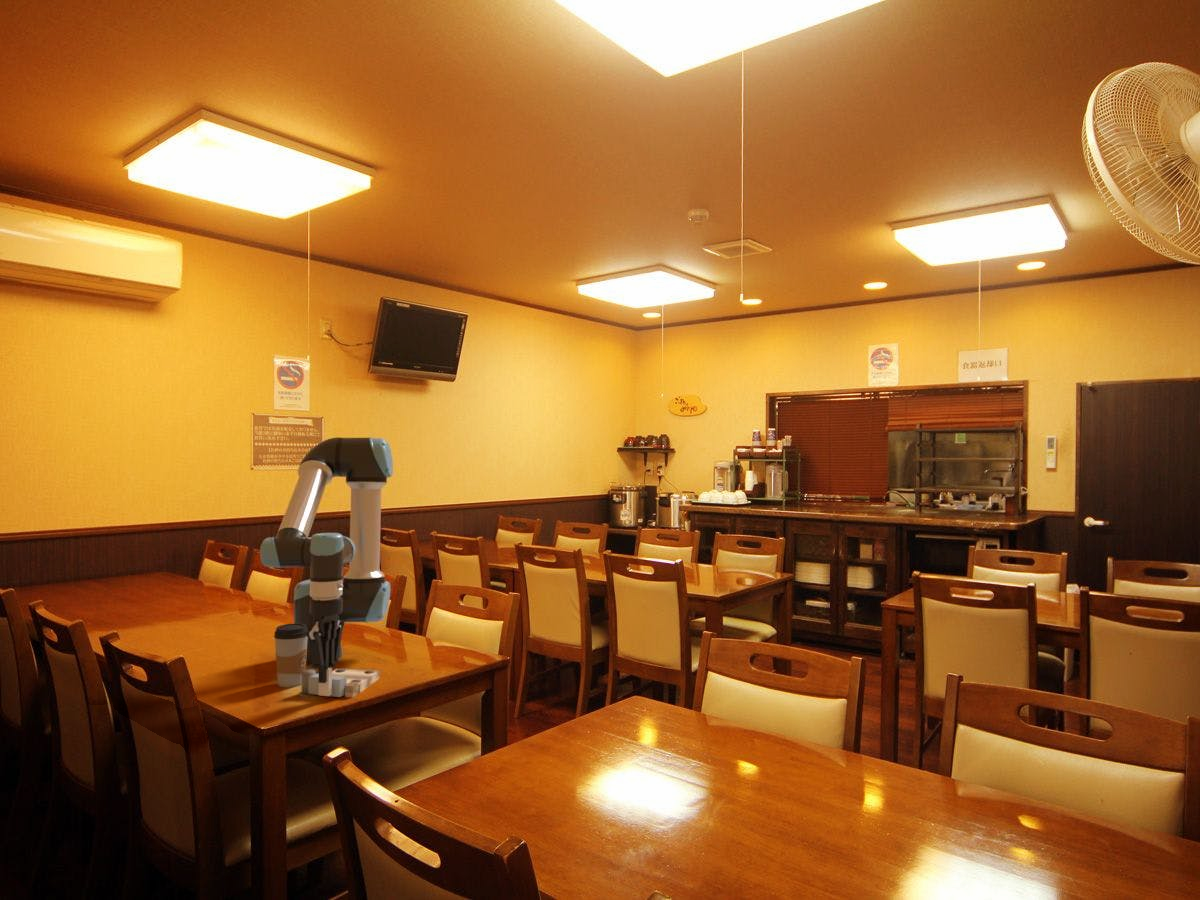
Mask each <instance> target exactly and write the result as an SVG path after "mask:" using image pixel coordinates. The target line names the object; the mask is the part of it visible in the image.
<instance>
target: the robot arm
mask: <svg viewBox="0 0 1200 900" xmlns="http://www.w3.org/2000/svg"><path fill="white" fill-rule="evenodd" d="M392 454H393V453H392V450H391V446H390V443H389V442H388V441H387V440H386V439H384V438H379V437H340V436H338V437H331V438H327V439H325V440H323V441H321V442H319V443H318V444H317V445H315V446H314V447H313V448H311V449H310V450H309V451H308V452H307V453H306V454H305V455H304V457H303V458H302V460H301V461H300V464H299V466H298V469H297V474H298V479H297V482H296V484H295V487H294V489H293V492H292V494H291V497H290V500H289V502H288V504H287V508H286V510H285V513H284V515H283V517H282V521H281V523H280V525H279V529H278V531H277V534H276V535H275V536H272V537H266V538H265V539H263V541H262V543H261V545H260V551H259V552H260V553H259V556H260V561H261V564H262V565H263V566H264V567H268V568H279V569H281V568H310V570H309V571H310V572H309V573H310V574H309V575H310V576H309V577H310V578H309V579H306V580H303V581H300V582H298V583H297V584H296V585H295V587H294V591H293V592H294V593H293V594H294V596H293V624H296V623H297V624H305V625H306V626H307V629H308V631H307V633H306V635H307V637H308V640H307V658H306V666H311V665H312V669H314V670H316V669H317V670H318V674H319V695H318V696H320V697H321V696H323V697H331V696H330V695H332V671H333V668H334V667H335V668H337V666H338V664H337V662H339V659H341V658H342V657H343V647H342V643H341V642H342V636H343V635H342V634H343V630H344V627H345V624H346V623H366V624H367V623H376V622H382V620H383V619H384V618H385V617H386V614H387V612H388V609H389V603H390V597H391V583H390V582H389V581H387V580H386V579H385V578H386V577H385V576H386V575H385V573H383V571H381V569H380V564H381V562H380V560H381V518H382V517H381V516H382V515H381V514H382V488H384V487H385V486H386V485H387V484H388V483H387V481H388V478H391V477H393V473H394V470H393V469H394V461H393V455H392ZM335 477H341V478H345V484H346V485H347V487H349V488H350V516H349V517H350V519H349V520H350V521H349V537H347V536H345V535H343V534H341V533H339V532H320V533H315V534H313V535H312V536H311V537H309V535H310V533H311V529H312V526H313V524H314V521H315V518H316V514H317V512H318V509H319V506H320V504H321V502H322V501H321V500H322V499H323V496H324V492H325V489H326V486H327V485H329V484H330V483H332V481H333V478H335ZM348 564H349V567H348V571H347V572H346V573H345V574H344V566H346V565H348Z"/></svg>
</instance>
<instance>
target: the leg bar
mask: <svg viewBox="0 0 1200 900" xmlns="http://www.w3.org/2000/svg"><path fill="white" fill-rule="evenodd" d="M346 684H347V677H343V676H334V675H332V695H330V696H329V697H334V698H335V697H337V698H341V697H343V696H345V685H346ZM301 692H302V693H305V694H308V693H309V694H316V695H318V696H319V673H316V669H306V670H304V671H302V684H301Z"/></svg>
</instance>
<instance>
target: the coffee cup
mask: <svg viewBox="0 0 1200 900" xmlns="http://www.w3.org/2000/svg"><path fill="white" fill-rule="evenodd" d="M307 631H308V629H307V626H306V625H305V624H297V623H296V624H294V623H287V624H281V625H278V626H277V627H276V628H275V631H274V634H273V635H274V636H273V638H274V643H275V665H276V667H275V668H276V675H277V685H278V686H279V687H281V688H294V687H298V686H302V671H304V670H307V669H306V668H307V665H306V658H307V640H308V637H307V635H306V633H307Z"/></svg>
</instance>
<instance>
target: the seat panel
mask: <svg viewBox="0 0 1200 900" xmlns="http://www.w3.org/2000/svg"><path fill="white" fill-rule="evenodd" d="M380 671H381V670H376V669H375V670H373V669H352V668H335V669H333V670H332V675H334V676H343V677H347V684H346V685H345V695H344V697H345V698H354V697H355V696H357V695H359V694H360V693H362V692H363V691H364V690H366V689H367V688H369V687H370V686H372V685H373V684H374V683H376V682H377V681H378V680H380V679H381V677H380V676H381V674H380V673H381V672H380ZM298 695H299V697H304V698H305V697H313V696H316V695H317V694H309V693H308V694H305V693H302V691H300V692H299V693H298Z"/></svg>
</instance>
